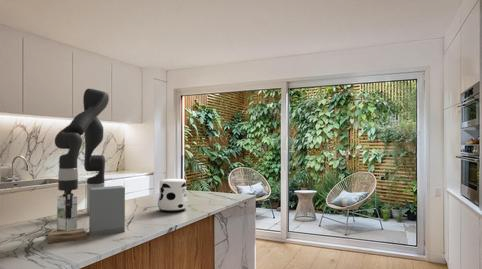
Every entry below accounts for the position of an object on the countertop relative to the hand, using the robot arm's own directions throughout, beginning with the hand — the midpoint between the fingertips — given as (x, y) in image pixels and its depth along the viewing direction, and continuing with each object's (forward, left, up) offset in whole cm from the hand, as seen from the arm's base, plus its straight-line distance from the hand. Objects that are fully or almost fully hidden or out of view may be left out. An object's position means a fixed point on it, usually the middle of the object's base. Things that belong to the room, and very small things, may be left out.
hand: (67, 216), depth 142 cm
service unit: (0, +16, -9) cm, 18 cm away
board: (0, 0, -9) cm, 9 cm away
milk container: (-30, +57, -9) cm, 65 cm away
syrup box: (0, 0, -6) cm, 6 cm away
